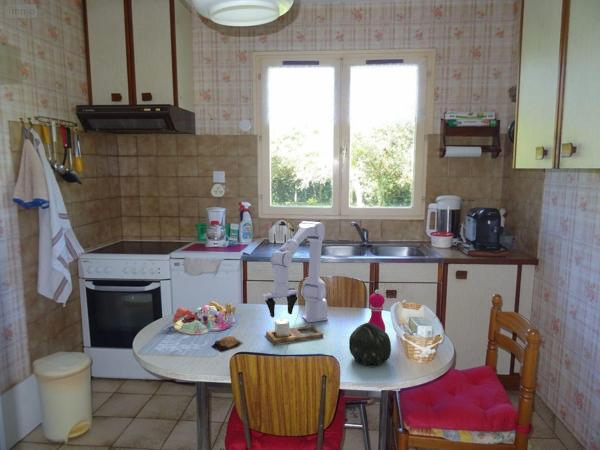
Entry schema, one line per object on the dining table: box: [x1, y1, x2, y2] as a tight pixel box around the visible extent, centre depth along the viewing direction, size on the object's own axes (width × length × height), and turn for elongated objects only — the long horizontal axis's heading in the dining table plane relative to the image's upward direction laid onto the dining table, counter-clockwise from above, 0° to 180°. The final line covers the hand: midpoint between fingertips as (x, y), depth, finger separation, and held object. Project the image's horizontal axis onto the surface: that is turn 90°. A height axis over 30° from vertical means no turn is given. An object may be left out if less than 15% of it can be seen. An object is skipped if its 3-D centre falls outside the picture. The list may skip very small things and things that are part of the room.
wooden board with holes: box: [265, 324, 324, 346], centre depth 173 cm, size 20×10×2 cm, turn 111°
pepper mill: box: [367, 289, 386, 332], centre depth 169 cm, size 7×7×20 cm
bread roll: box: [211, 335, 244, 353], centre depth 164 cm, size 11×9×4 cm
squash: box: [348, 322, 392, 366], centre depth 150 cm, size 14×15×15 cm
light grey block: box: [274, 318, 290, 338], centre depth 170 cm, size 5×5×7 cm
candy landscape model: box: [172, 300, 237, 335], centre depth 186 cm, size 25×24×9 cm
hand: (281, 315), depth 170 cm, fingers open, 7 cm apart
